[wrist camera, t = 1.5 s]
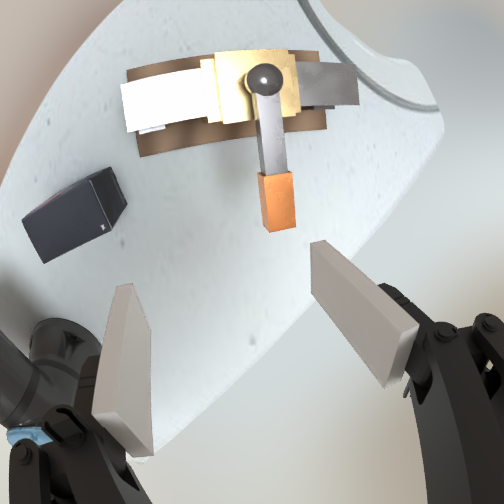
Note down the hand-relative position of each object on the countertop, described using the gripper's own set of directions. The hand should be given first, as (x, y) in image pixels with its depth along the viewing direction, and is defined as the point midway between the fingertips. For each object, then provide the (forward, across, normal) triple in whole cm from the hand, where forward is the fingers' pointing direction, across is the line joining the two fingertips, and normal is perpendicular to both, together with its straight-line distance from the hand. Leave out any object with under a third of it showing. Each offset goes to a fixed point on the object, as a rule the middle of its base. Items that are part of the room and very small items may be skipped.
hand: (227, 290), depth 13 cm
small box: (+30, +15, 0) cm, 33 cm away
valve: (+28, -7, -10) cm, 30 cm away
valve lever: (+15, -7, -4) cm, 17 cm away
